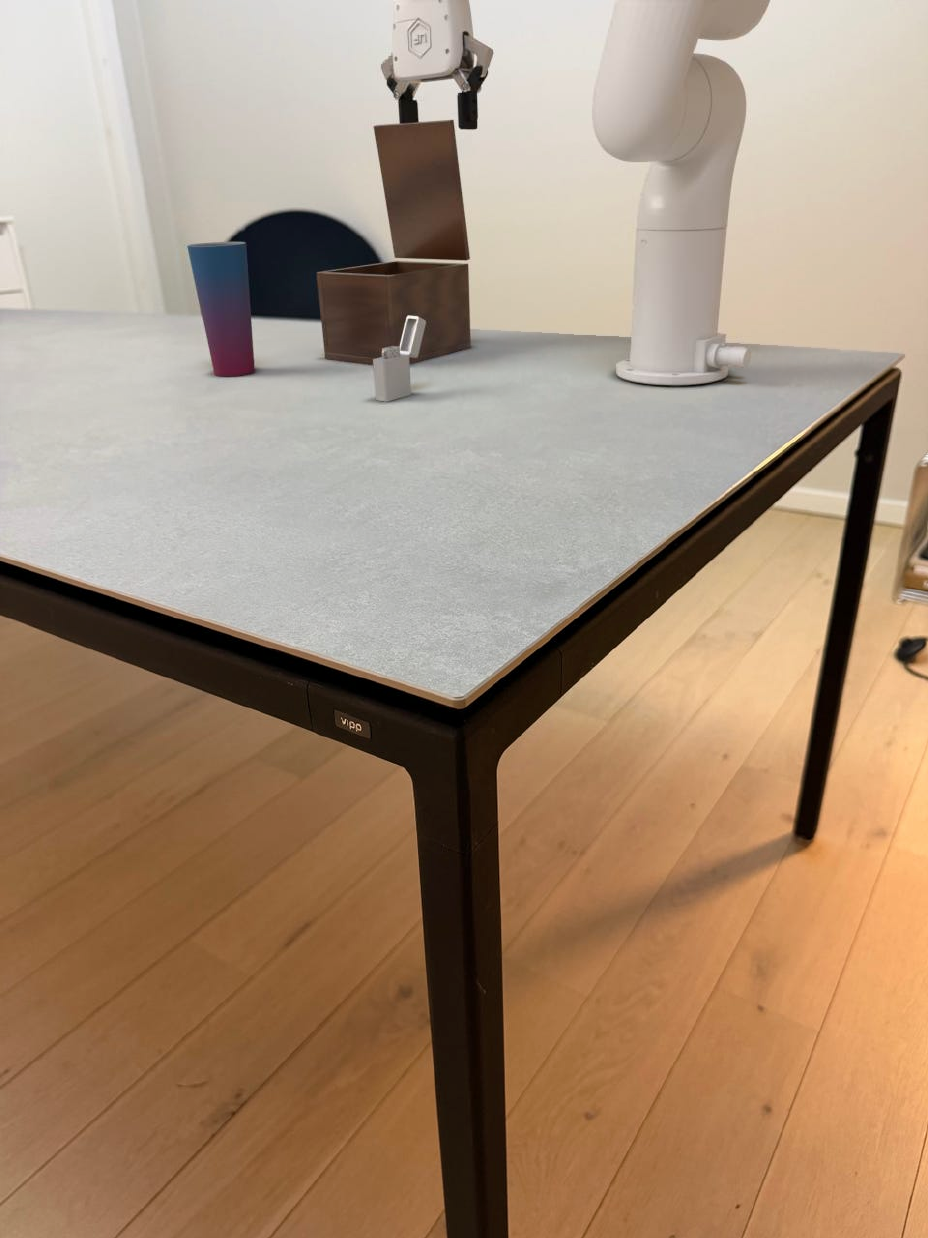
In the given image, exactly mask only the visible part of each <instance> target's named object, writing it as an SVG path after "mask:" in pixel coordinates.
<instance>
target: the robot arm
mask: <svg viewBox="0 0 928 1238" xmlns="http://www.w3.org/2000/svg"><path fill="white" fill-rule="evenodd" d="M770 3H771V0H615V2H614V6H613V7H614V8H613V11H612V14H611V19H610V21H609V27H608V31H607V35H606V39H605V43H604V47H603V51H602V55H601V59H600V63H599V67H598V72H597V76H596V80H595V85H594V89H593V95H592V96H593V97H592V105H591V109H592V110H591V118H592V126H593V127H592V128H593V130H594V135H595V137H596V140H597V141H598V144H599V145H600V147H601V148H602V149H603V150H604V151H605V152H606V154H608V155H609V156H611V157H612V158H614V159H616V160H618V161H622V162H629V163H649V165H648V168H647V171H646V174H645V177H644V180H643V183H642V186H641V189H640V194H639V198H638V204H637V215H636V230H635V247H634V248H635V249H634V250H635V251H634V266H633V267H634V269H633V270H634V271H633V291H632V309H631V311H632V313H631V314H632V315H631V331H630V333H631V334H630V336H631V337H630V351H629V352H630V353H629V355H630V356H629V357H628V358H625V359H623V360H620V361H619V362H617V363H616V366H615V375H617V376H618V378H620V379H623V380H626V381H629V382H633V383H639V384H647V385H658V386H690V385H701V384H703V385H704V384H709V383H713V382H717V381H721V380H723V379H725V378H727V376H728V375H729V368H730V367H735V368H736V367H737V368H747V367H748V366H749V364H750V361H751V349H749V348H748V347H747V346H729V344H728V343H726V339H727V338H726V337H727V333H723V332H719V331H718V329H719V320H720V319H719V318H720V309H721V297H722V285H723V284H722V283H723V275H724V274H723V273H724V263H725V253H726V252H725V251H726V239H727V230H728V229H727V228H728V221H729V210H730V201H731V191H732V184H733V177H734V171H735V166H736V162H737V157H738V153H739V150H740V146H741V142H742V137H743V133H744V128H745V123H746V118H747V96H746V89H745V87H744V83H743V81H742V79H741V77H740V75H739V74H738V73H737V70H735V69H734V68H733V66H731V65H730V64H729V63H728V62H726V61H725V60H723V59H720V58H718V57H717V56H713V55H709V54H706V53H698V52H697V53H695V49H696V47H697V44H698V41H699V40H707V41H731V40H736V39H739V38H742V37H744V36H746V35H747V34H750V32H751V31H752V30H754V29H755V28H756V26H758V25H759V23H760V22H761V20H762V18H763V17H764V16H765V13H766V11H767V9H768V7H769V5H770ZM473 27H474V26H473V19H472V12H471V5H470V0H393V9H392V52H391V53H390V54H389V55H388V56H387V57H386V58H385V59H384V60H383V61H382V62H381V64H380V70H381V72H382V75H383V77H384V79H385V81H386V86H387V88H388V90H389V91H390V92H391V93H392V97H393V100H395V101H397V102H398V104H397V106H398V121H399V123H413V122H420V120H419V119H420V118H419V103H418V100H417V99H414V97H415V95H416V94H417V91H418V89H419V88H420V85H421V83H430V82H439V81H440V82H441V81H446V80H454V81H455V83H456V85H458V87H459V89H460V90H461V92H458V93H457V95H456V96H457V97H456V99H457V123H458V124H457V125H458V128H459V130H467V131H468V130H469V131H470V130H471V131H473V130H477V129H478V120H479V119H478V118H479V108H478V106H479V105H478V103H479V102H478V94H479V93H480V92H481V91H482V85H483V83H484V82H485V80H486V79H487V78H488V76H489V68H490V66H491V63H492V60H493V57H494V50H493V48H492V47H490V46H488V45H487V44H485V43H483V42H482V41H479V40H478V39H477V38H474V28H473ZM475 56H476V62H475ZM475 63H476V64H475Z"/></svg>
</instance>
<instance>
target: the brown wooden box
mask: <svg viewBox="0 0 928 1238" xmlns="http://www.w3.org/2000/svg"><path fill="white" fill-rule="evenodd" d="M469 277H470V273H469V263H460V262H436V261H434V262H433V261H412V260H411V261H410V260H409V261H408V260H393V261H386V262H379V263H372V264H365V265H359V266H358V265H357V266H351V267H345V268H344V267H343V268H337V269H330V270H323V271H317V272H316V280H317V289H318V290H317V292H318V303H319V311H320V313H319V314H320V321H321V333H322V342H323V353H324V359H326V360H333V361H339V362H340V361H341V362H342V361H343V362H350V363H355V364H365V365H373V359H376V358H380V357H382V348H387V347H391V346H397V347H400V343H401V339H402V335H403V330H404V326H405V322H406V318H407V316H418V317H420V318H422V319H424V320H425V321H426V325H425V329H424V333H423V337H422V341H421V345H420V350H419V354H418V357H417V358H412V357H409V365H410V364H414V363H418V362H422V361H426V360H430V359H433V358H437V357H440V356H445V355H448V354H452V353H455V352H459V351H463V350H467V349H471V347H472V343H471V312H470V311H471V309H470V306H471V305H470V278H469Z"/></svg>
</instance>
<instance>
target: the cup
mask: <svg viewBox="0 0 928 1238" xmlns="http://www.w3.org/2000/svg"><path fill="white" fill-rule="evenodd" d="M186 246H187V251H188V256H189V261H190V267H191V270H192V276H193V281H194V285H195V289H196V294H197V299H198V303H199V308H200V313H201V318H202V323H203V327H204V332H205V336H206V341H207V347H208V350H209V356H210V359H211V360H210V361H211V365H212V370H213V374H214V375H215V376H218V377H239V376H240V377H241V376H246V375H251V374H253V373H255V371H256V366H255V356H254V355H255V352H254V351H255V350H254V339H253V323H252V310H251V309H252V308H251V295H250V282H249V281H250V280H249V266H248V254H247V251H248V250H247V242H245V241H215V242H214V241H212V242H201V243H193V244H191V243H190V244H188V245H186Z"/></svg>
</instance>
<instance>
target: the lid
mask: <svg viewBox="0 0 928 1238" xmlns="http://www.w3.org/2000/svg"><path fill="white" fill-rule="evenodd" d="M455 127H456V126H455V120H454V119H445V120H443V119H442V120H441V119H440V120H428V121H419V122H413V123H400V122H399V123H388V124H387V123H385V124H376V125H373V132H374V137H375V144H376V151H377V156H378V163H379V169H380V175H381V181H382V186H383V187H382V188H383V193H384V195H383V196H384V201H385V206H386V212H387V213H386V214H387V219H388V225H389V232H390V238H391V244H392V249H393V257H394V259H409V260H410V259H412V260H414V259H415V260H438V261H440V260H441V261H464V262H465V261H470V260H471V255H470V248H469V247H470V246H469V238H468V231H467V221H466V213H465V212H466V211H465V204H464V196H463V188H462V178H461V170H460V162H459V154H458V145H457V138H456V137H457V136H456V129H455Z"/></svg>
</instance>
